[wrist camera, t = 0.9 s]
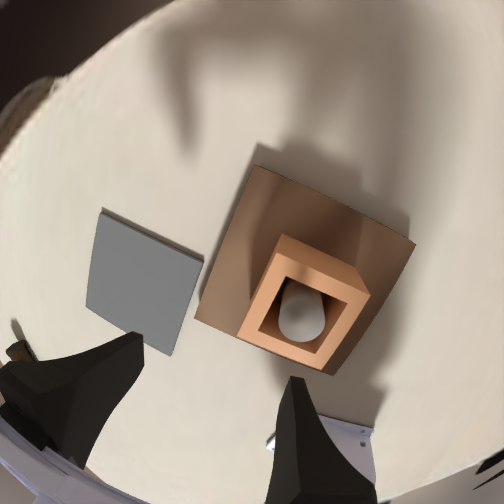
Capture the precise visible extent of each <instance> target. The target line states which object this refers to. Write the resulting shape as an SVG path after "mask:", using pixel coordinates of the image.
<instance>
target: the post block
mask: <svg viewBox="0 0 504 504" xmlns="http://www.w3.org/2000/svg"><path fill="white" fill-rule="evenodd" d="M281 234H285V235H287V236H289V237H291V238H293V239H296V240H298V241H300V242H302V243H304V244H307V245H309V246H311V247H313V248H315V249H317V250H319V251H322V252H324V253H326V254H328V255H330V256H332V257H334V258H337V259H339V260H341V261H343V262H345V263H347V264H349V265H351V266H353V267H355V268H356V270H357V271H358V273H359V275H360V277H361V279H362V280H363V282H364V284H365V286H366V288H367V290H368V292H369V293H370V295H371V296H370V297H369V299H368V301H367V302H366V304H365V305H364V307H363V309H362V310H361V312H360V314H359V315H358V317H357V318H356V320H355V321H354V323H353V325H352V326H351V328H350V329H349V331H348V332H347V334H346V335H345V337H344V338H343V340H342V341H341V343H340V344H339V346H338V347H337V348H336V350H335V351H334V353H333V354H332V356H331V357H330V358H329V360H328V361H327V363H326V364H325V365H324V367H323V368H322V369H321V370H320V369H317V368H314V367H311V366H309V365H306V364H303V363H301V362H298V361H295V360H293V359H290V358H288V357H285V356H283V355H280V354H278V353H275V352H273V351H270V350H268V349H265V348H263V347H261V346H258V345H256V344H253V343H251V342H249V341H246V340H244V339H242V338H240V337H237V334H238V331H239V329H240V326H241V324H242V321H243V318H244V316H245V313H246V311H247V308H248V305H249V303H250V301H251V298H252V296H253V294H254V292H255V290H256V288H257V286H258V284H259V281H260V279H261V277H262V275H263V273H264V271H265V269H266V266H267V264H268V262H269V260H270V258H271V256H272V253H273V251H274V249H275V247H276V245H277V243H278V240H279V238H280V236H281ZM415 246H416V244H415V243H413V242H412V241H410V240H409V239H407V238H405V237H404V236H402V235H400V234H398V233H397V232H395V231H393V230H391V229H389V228H387V227H386V226H384V225H382V224H380V223H378V222H376V221H375V220H373V219H371V218H369V217H367V216H365V215H363V214H361V213H359V212H357V211H355V210H353V209H351V208H349V207H347V206H345V205H343V204H341V203H339V202H337V201H335V200H333V199H331V198H329V197H327V196H325V195H323V194H321V193H319V192H316V191H314V190H312V189H310V188H308V187H306V186H304V185H301V184H299V183H297V182H295V181H292V180H290V179H288V178H286V177H283V176H281V175H279V174H276V173H274V172H272V171H269V170H267V169H265V168H262V167H260V166H257V165H254V167H253V169H252V172H251V174H250V176H249V179H248V181H247V184H246V186H245V188H244V191H243V193H242V196H241V198H240V201H239V203H238V205H237V208H236V210H235V213H234V215H233V218H232V220H231V223H230V225H229V228H228V230H227V233H226V235H225V238H224V240H223V243H222V245H221V248H220V251H219V253H218V256H217V258H216V261H215V263H214V266H213V269H212V271H211V274H210V276H209V279H208V282H207V284H206V287H205V290H204V292H203V295H202V298H201V300H200V303H199V306H198V308H197V311H196V314H195V316H194V319H197V320H199V321H201V322H203V323H205V324H207V325H209V326H211V327H213V328H216V329H218V330H220V331H222V332H224V333H227V334H229V335H231V336H233V337H235V338H238V339H240V340H242V341H245V342H247V343H249V344H252V345H254V346H256V347H259V348H261V349H263V350H266V351H268V352H271V353H273V354H276V355H278V356H281V357H283V358H286V359H288V360H291V361H293V362H296V363H299V364H301V365H304V366H307V367H309V368H312V369H315V370H318V371H320V372H323V373H326V374H329V375H332V376H334V374H335V373H336V372H337V371H338V369H339V368H340V367H341V365H342V364H343V363H344V361H345V360H346V358H347V357H348V356H349V354H350V353H351V352H352V350H353V349H354V347H355V346H356V345H357V343H358V342H359V340H360V339H361V337H362V336H363V334H364V333H365V331H366V330H367V328H368V327H369V325H370V324H371V322H372V321H373V319H374V318H375V316H376V315H377V313H378V311H379V310H380V308H381V307H382V305H383V303H384V302H385V300H386V298H387V297H388V295H389V293H390V292H391V290H392V288H393V287H394V285H395V283H396V281H397V280H398V278H399V276H400V274H401V273H402V271H403V269H404V267H405V265H406V263H407V262H408V260H409V258H410V256H411V254H412V252H413V250H414V248H415ZM325 295H326V293H323V292H321V291H319V290H317V289H314V288H312V287H310V286H308V285H305V284H303V283H301V282H299V281H296V280H294V279H292V278H290V277H287V276H285V278H284V280H283V282H282V284H281V286H280V288H279V290H278V292H277V294H276V296H275V298H274V300H275V301H277V302H279V303H281V308H280V315H279V328H280V330H281V332H282V333H283V335H284V336H285V337H287V338H288V339H290V340H293V341H296V342H306V341H310V340H313V339H314V338H316V337H317V336H319V335H320V334H321V332H322V331H323V329H324V326H325V316H324V309H323V303H322V301H323V299H324V297H325Z"/></svg>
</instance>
